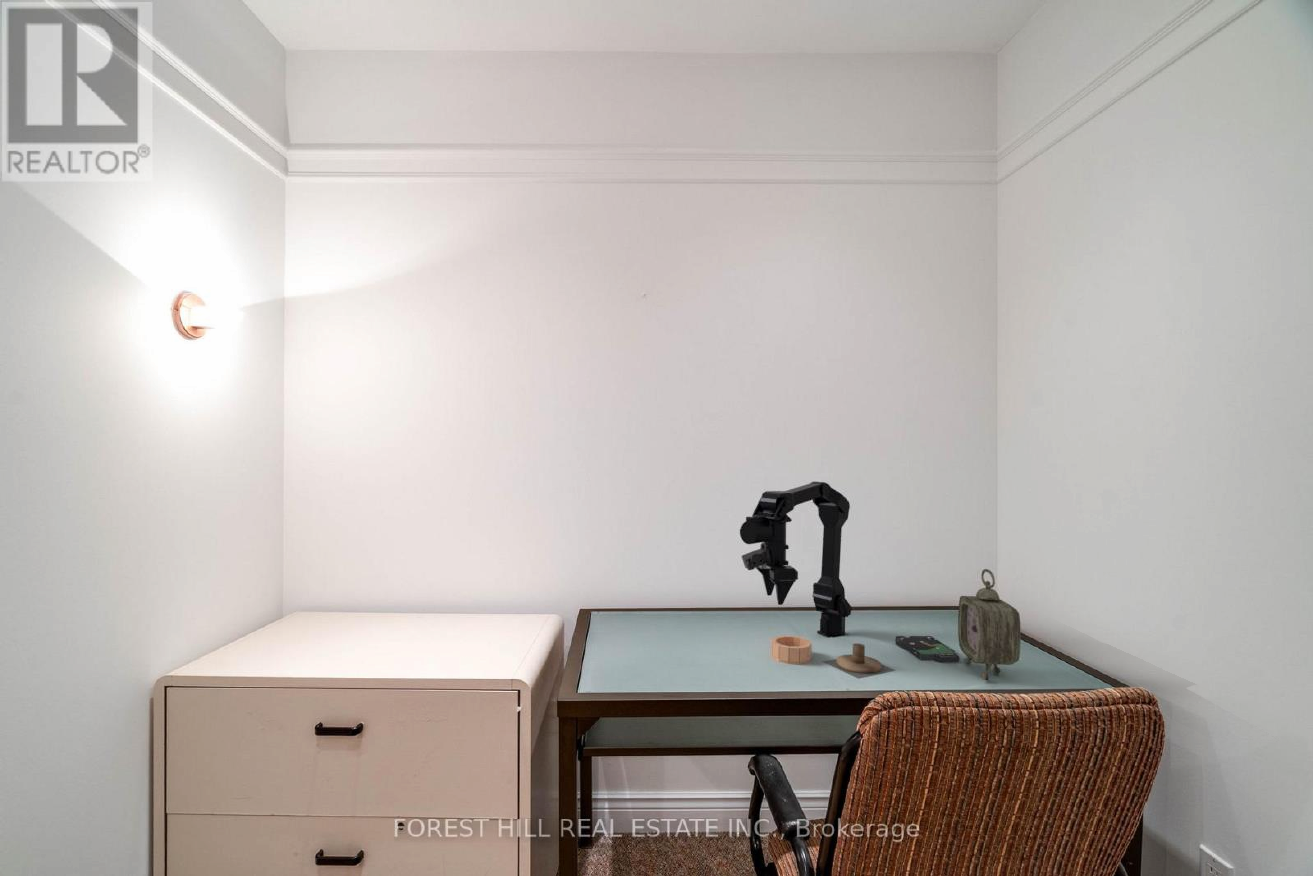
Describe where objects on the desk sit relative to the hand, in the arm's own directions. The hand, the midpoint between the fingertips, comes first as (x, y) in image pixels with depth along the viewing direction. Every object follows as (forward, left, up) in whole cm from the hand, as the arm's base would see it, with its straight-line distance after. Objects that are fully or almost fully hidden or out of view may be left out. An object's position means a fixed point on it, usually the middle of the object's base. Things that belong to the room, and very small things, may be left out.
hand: (774, 599), depth 167 cm
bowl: (-1, +6, -14) cm, 15 cm away
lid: (-12, +18, -13) cm, 25 cm away
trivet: (-12, +18, -14) cm, 25 cm away
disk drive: (-37, +17, -15) cm, 43 cm away
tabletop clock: (-38, +34, -14) cm, 53 cm away
